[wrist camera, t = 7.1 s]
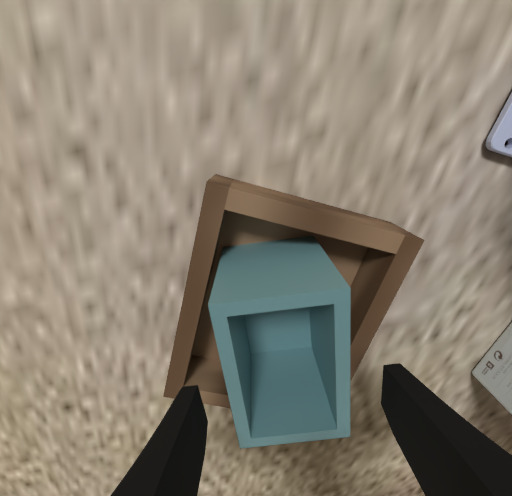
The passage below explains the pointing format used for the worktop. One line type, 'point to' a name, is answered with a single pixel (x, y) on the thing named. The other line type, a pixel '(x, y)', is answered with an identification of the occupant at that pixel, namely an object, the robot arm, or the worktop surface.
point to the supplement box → (498, 369)
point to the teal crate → (283, 341)
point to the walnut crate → (277, 228)
